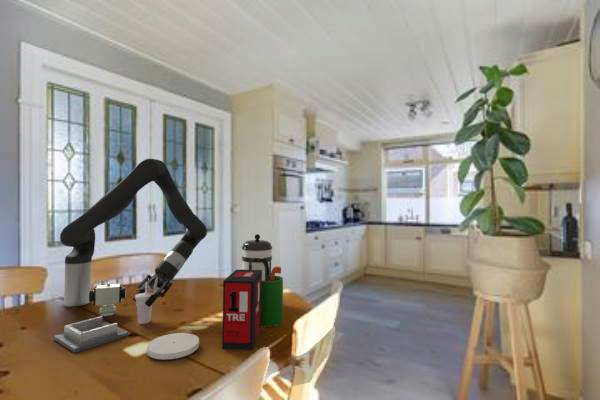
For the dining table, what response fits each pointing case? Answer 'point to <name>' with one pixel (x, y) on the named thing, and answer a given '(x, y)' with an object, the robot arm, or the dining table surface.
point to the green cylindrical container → (272, 299)
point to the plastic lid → (173, 346)
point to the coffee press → (257, 256)
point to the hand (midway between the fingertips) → (140, 303)
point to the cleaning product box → (242, 309)
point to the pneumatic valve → (107, 297)
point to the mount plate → (89, 334)
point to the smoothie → (143, 307)
